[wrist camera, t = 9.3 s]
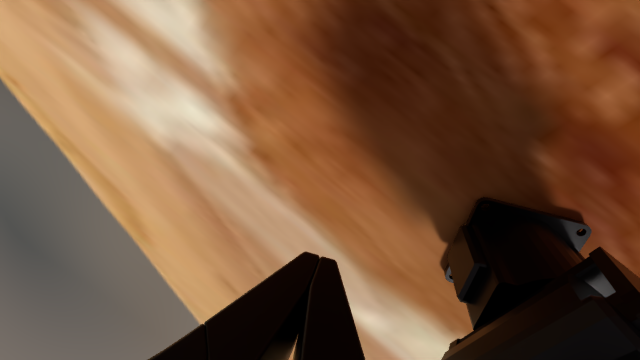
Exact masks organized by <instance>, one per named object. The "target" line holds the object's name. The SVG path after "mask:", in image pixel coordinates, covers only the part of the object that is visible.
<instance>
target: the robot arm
mask: <svg viewBox="0 0 640 360" xmlns="http://www.w3.org/2000/svg"><path fill="white" fill-rule="evenodd" d="M483 204H489V205H488V207H487V208H481V206H482V205H483ZM579 229H583V230H582V231H581V232H578V233H576V232H577V231H578V230H579ZM590 235H591V229H590V227H589V226H588V225H587V224H586V223H584V222H581V221H577V220H573V219H569V218H565V217H561V216H557V215H553V214H549V213H545V212H542V211H538V210H534V209H530V208H526V207H522V206H518V205H514V204H510V203H507V202H503V201H499V200H495V199H491V198H486V197H483V198H480V199H478V200H477V202H476V203H475V205H474V208H473V210H472V212H471V214H470V216H469V219H468V221H467V223H466V225H463V226H461V227H460V229H459V231H458V233H457V235H456V238H455V240H454V242H453V244H452V247H451V249H450V251H449V253H448V256H447V258H448V262H449V263H448V265H447V267H446V269H445V272H444V273H445V278H446V280H447V281H449V282H452V283H454V286H455V290H456V294H457V297H458V299H459V301H460V302H463V303H466V305H467V309H468V312H469V316H470V320H471V323H472V327H473V330H474V331H473V332H471V333H470V334H468V335H467V336H465V337H463V338H462V339H456V340H455V341H453V342H452V343H450V346H449V350H448V351H447V352H445V354H444V356H443V358H442V360H640V278H639V277H638V276H636V275H635V274H634V273H633V272H631V271H630V270H629V269H628V268H626V267H625V266H624V265H623V264H621V263H620V262H619V261H618V260H616V259H615V258H614V257H613V256H611V255H610V254H609V253H608V252H606V251H605V250H604V249H603V248H601V247H598V248H597V249H595V250H594V251H592V252H591V253H589V255H590V256H589V257H588V258H586V259H585V258H584V257H583V256H582V255H581V254H580V253H579V251H580V250H581V248H582V247H583V245H584V244H585V242H586V241H587V239H588V238H589V236H590ZM450 274H452V276H450ZM297 337H298V338H297ZM296 340H297V342H296ZM295 343H296V346H295V351H294V356H293V360H365V357H364V354H363V350H362V347H361V344H360V340H359V337H358V333H357V330H356V326H355V323H354V320H353V316H352V313H351V309H350V306H349V303H348V299H347V296H346V292H345V289H344V286H343V282H342V279H341V275H340V272H339V269H338V265H337V262H336V261H335V260H333V259H330V258H326V257H321V258H320V257H319V255H316V254H313V253H309V252H303V253H302V254H300V255H299V256H298V257H296V258H295V259H293V260H292V261H290V262H289V263H288V264H286V265H285V266H283V267H282V268H281V269H279V270H278V271H276V272H275V273H273V274H272V275H271V276H269V277H268V278H266V279H265V280H264V281H262V282H261V283H259V284H258V285H257V286H255V287H254V288H252V289H251V290H249V291H248V292H247V293H245V294H244V295H242V296H241V297H240V298H238V299H237V300H235V301H234V302H232V303H231V304H230V305H228V306H227V307H225V308H224V309H223V310H221V311H220V312H218V313H217V314H215V315H214V316H213V317H211V318H210V319H208V320H207V321H206V322H205V323H204V324H201V325H200V326H198V327H197V328H196V329H194V330H193V331H191V332H190V333H188V334H187V335H185V336H184V337H183V338H181V339H179V340H178V341H177V342H175V343H173V344H172V345H171V346H169V347H167V348H166V349H164V350H163V351H161V352H160V353H158V354H156V355H155V356H153V357H151V358H150V359H148V360H289V357H290V355H291V353H292V350H293V348H294V345H295Z"/></svg>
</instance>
